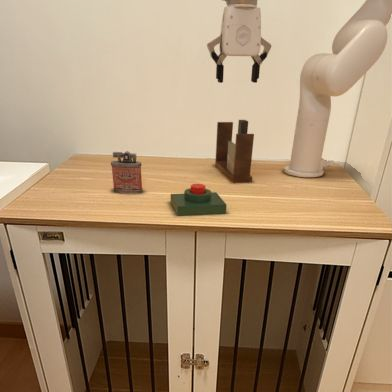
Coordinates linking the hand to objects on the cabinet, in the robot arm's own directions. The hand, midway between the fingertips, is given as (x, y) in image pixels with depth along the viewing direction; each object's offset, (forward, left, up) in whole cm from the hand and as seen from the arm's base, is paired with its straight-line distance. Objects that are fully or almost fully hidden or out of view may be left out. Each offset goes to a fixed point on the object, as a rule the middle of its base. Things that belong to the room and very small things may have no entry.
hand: (237, 82), depth 112 cm
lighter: (+32, +11, -25) cm, 42 cm away
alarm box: (+16, +27, -25) cm, 40 cm away
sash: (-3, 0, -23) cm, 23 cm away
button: (+16, +27, -21) cm, 38 cm away
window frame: (-3, -5, -25) cm, 25 cm away
